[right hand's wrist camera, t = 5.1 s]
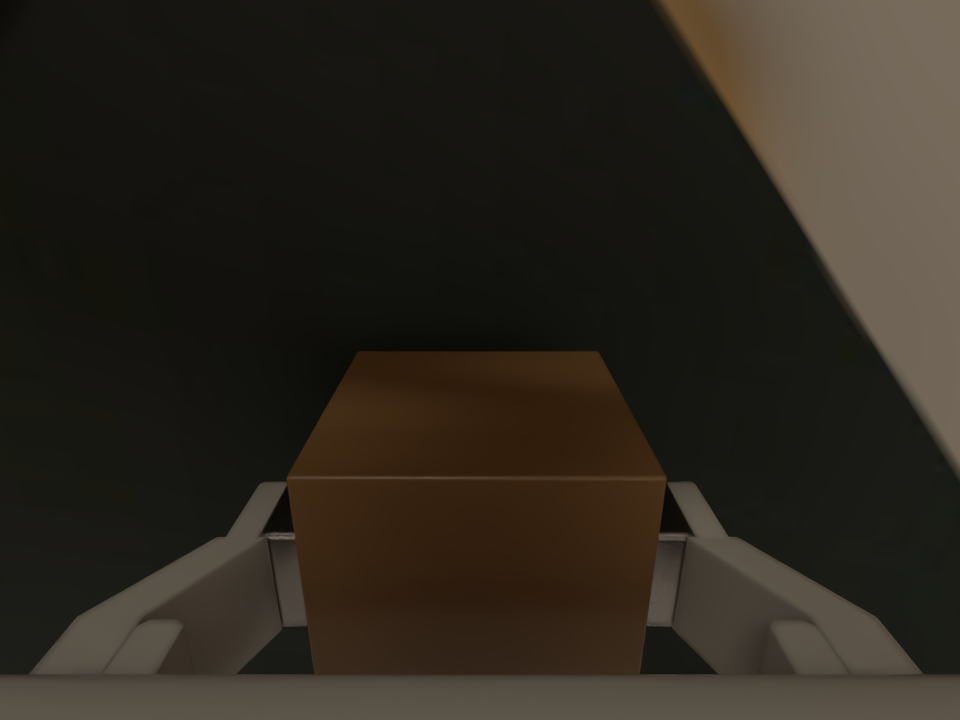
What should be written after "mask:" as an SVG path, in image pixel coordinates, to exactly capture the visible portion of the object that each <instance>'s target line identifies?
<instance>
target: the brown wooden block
mask: <svg viewBox="0 0 960 720" xmlns="http://www.w3.org/2000/svg"><path fill="white" fill-rule="evenodd" d="M286 480H287V487H288V494H289V501H290V508H291V515H292V522H293V528H294V535H295V542H296V549H297V556H298V563H299V570H300V577H301V584H302V591H303V598H304V605H305V612H306V619H307V626H308V633H309V640H310V647H311V654H312V661H313V668H314V674H427V675H599V674H640V668H641V661H642V654H643V647H644V640H645V632H646V625H647V618H648V611H649V603H650V596H651V589H652V582H653V575H654V567H655V560H656V553H657V546H658V539H659V531H660V524H661V517H662V510H663V502H664V495H665V488H666V481H667V478H666V475H665V474H664V472H663V470H662V468H661V466H660V464H659V462H658V461H657V459H656V457H655V455H654V453H653V451H652V450H651V448H650V446H649V444H648V442H647V440H646V439H645V437H644V435H643V433H642V431H641V429H640V428H639V426H638V424H637V422H636V420H635V418H634V416H633V415H632V413H631V411H630V409H629V407H628V405H627V404H626V402H625V400H624V398H623V396H622V394H621V393H620V391H619V389H618V387H617V385H616V383H615V381H614V380H613V378H612V376H611V374H610V372H609V370H608V369H607V367H606V365H605V363H604V361H603V359H602V358H601V356H600V354H599V352H597V351H359V352H357V354H356V355H355V357H354V359H353V361H352V362H351V364H350V366H349V368H348V369H347V371H346V373H345V375H344V377H343V378H342V380H341V382H340V384H339V385H338V387H337V389H336V391H335V392H334V394H333V396H332V398H331V400H330V401H329V403H328V405H327V407H326V408H325V410H324V412H323V414H322V415H321V417H320V419H319V421H318V422H317V424H316V426H315V428H314V430H313V431H312V433H311V435H310V437H309V438H308V440H307V442H306V444H305V445H304V447H303V449H302V451H301V452H300V454H299V456H298V458H297V460H296V461H295V463H294V465H293V467H292V468H291V470H290V472H289V474H288V475H287V478H286Z"/></svg>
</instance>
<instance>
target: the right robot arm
mask: <svg viewBox="0 0 960 720" xmlns="http://www.w3.org/2000/svg"><path fill="white" fill-rule="evenodd" d="M286 626H307V619H306V612H305V605H304V598H303V591H302V584H301V577H300V570H299V563H298V556H297V549H296V542H295V535H294V528H293V522H292V515H291V508H290V501H289V494H288V487H287V482H263V483H261V484H260V485H259V486H258V487H257V489H256V490H255V492H254V493H253V495H252V497H251V498H250V500H249V501H248V503H247V504H246V506H245V507H244V509H243V511H242V512H241V514H240V515H239V517H238V518H237V520H236V522H235V523H234V525H233V526H232V528H231V529H230V531H229V533H228V534H227V536H226V537H216V538H215V539H213V540H211V541H209V542H208V543H206V544H204V545H202V546H201V547H199V548H197V549H195V550H194V551H192V552H190V553H188V554H187V555H185V556H183V557H181V558H180V559H178V560H176V561H174V562H172V563H171V564H169V565H167V566H165V567H164V568H162V569H160V570H158V571H157V572H155V573H153V574H151V575H150V576H148V577H146V578H144V579H143V580H141V581H139V582H137V583H136V584H134V585H132V586H130V587H129V588H127V589H125V590H123V591H122V592H120V593H118V594H116V595H115V596H113V597H111V598H109V599H107V600H106V601H104V602H102V603H100V604H99V605H97V606H95V607H93V608H92V609H90V610H88V611H86V612H85V613H83V614H81V615H79V616H78V617H77V618H76V619H75V620H74V621H73V622H72V624H71V625H70V626H69V627H68V628H67V630H66V631H65V632H64V633H63V634H62V635H61V637H60V638H59V639H58V640H57V641H56V643H55V644H54V645H53V646H52V647H51V649H50V650H49V651H48V652H47V653H46V655H45V656H44V657H43V658H42V659H41V660H40V662H39V663H38V664H37V665H36V666H35V668H34V669H33V670H32V671H31V672H30V674H0V720H960V674H923V673H922V672H921V671H920V670H919V668H918V667H917V666H916V665H915V664H914V662H913V661H912V660H911V659H910V657H909V656H908V655H907V654H906V653H905V651H904V650H903V649H902V648H901V646H900V645H899V644H898V643H897V642H896V640H895V639H894V638H893V637H892V636H891V634H890V633H889V632H888V631H887V629H886V628H885V627H884V626H883V625H882V623H881V622H880V621H879V620H878V618H877V617H875V616H873V615H871V614H870V613H868V612H866V611H864V610H863V609H861V608H859V607H858V606H856V605H854V604H852V603H851V602H849V601H847V600H845V599H844V598H842V597H840V596H838V595H837V594H835V593H833V592H832V591H830V590H828V589H826V588H825V587H823V586H821V585H819V584H818V583H816V582H814V581H812V580H811V579H809V578H807V577H806V576H804V575H802V574H800V573H799V572H797V571H795V570H793V569H792V568H790V567H788V566H786V565H785V564H783V563H781V562H780V561H778V560H776V559H774V558H773V557H771V556H769V555H767V554H766V553H764V552H762V551H760V550H759V549H757V548H755V547H753V546H752V545H750V544H748V543H747V542H745V541H743V540H741V539H740V538H738V537H728V535H727V534H726V532H725V530H724V529H723V527H722V526H721V524H720V523H719V521H718V519H717V518H716V516H715V515H714V513H713V511H712V510H711V508H710V507H709V505H708V504H707V502H706V500H705V499H704V497H703V496H702V494H701V492H700V491H699V489H698V488H697V486H696V485H695V484H694V483H693V482H691V481H683V482H666V488H665V495H664V502H663V510H662V517H661V524H660V531H659V539H658V546H657V553H656V560H655V567H654V575H653V582H652V589H651V596H650V603H649V611H648V618H647V625H646V626H668V627H673V630H674V631H675V632H676V633H677V634H678V635H679V636H680V637H681V638H682V639H683V640H684V641H685V642H686V643H687V644H688V645H689V646H690V647H691V648H692V649H693V650H694V651H695V652H697V653H698V654H699V655H700V656H701V657H702V658H703V659H704V660H705V661H706V662H707V663H708V664H709V665H710V666H711V667H712V668H713V669H714V670H715V671H716V672H717V673H718V674H599V675H427V674H237V673H238V672H239V671H240V670H241V669H242V668H243V667H244V666H245V665H246V664H247V663H248V662H249V661H250V660H251V659H252V658H253V657H254V656H255V655H256V654H257V653H258V652H259V651H260V650H261V649H262V648H263V647H264V646H265V645H266V644H268V643H269V642H270V641H271V640H272V639H273V638H274V637H275V636H276V635H277V634H278V633H279V632H280V631H281V630H282V627H286Z"/></svg>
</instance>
